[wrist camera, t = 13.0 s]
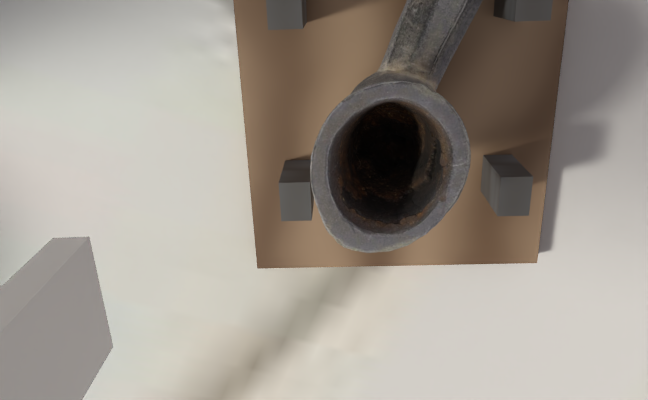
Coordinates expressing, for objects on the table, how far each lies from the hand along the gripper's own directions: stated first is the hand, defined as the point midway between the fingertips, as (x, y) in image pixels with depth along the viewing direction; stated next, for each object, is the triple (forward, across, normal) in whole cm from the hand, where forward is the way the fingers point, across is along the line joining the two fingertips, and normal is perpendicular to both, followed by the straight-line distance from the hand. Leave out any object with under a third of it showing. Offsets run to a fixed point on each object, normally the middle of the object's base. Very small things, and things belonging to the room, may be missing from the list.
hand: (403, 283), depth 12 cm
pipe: (+18, +2, +1) cm, 18 cm away
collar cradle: (+19, +2, 0) cm, 19 cm away
